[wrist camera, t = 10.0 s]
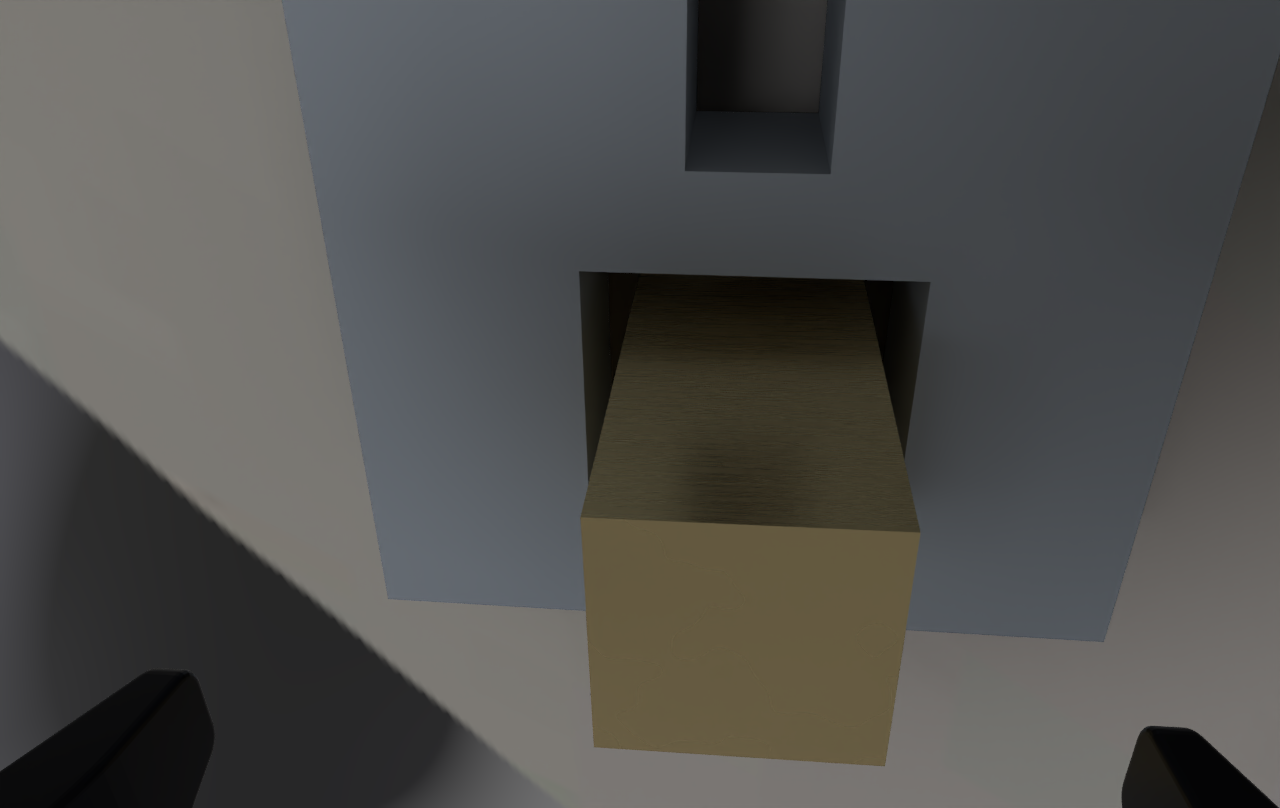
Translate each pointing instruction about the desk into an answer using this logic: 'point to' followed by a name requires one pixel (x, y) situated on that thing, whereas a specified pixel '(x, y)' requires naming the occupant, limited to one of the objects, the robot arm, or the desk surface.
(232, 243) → the desk surface
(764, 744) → the brass square bit
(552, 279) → the slate bore board
